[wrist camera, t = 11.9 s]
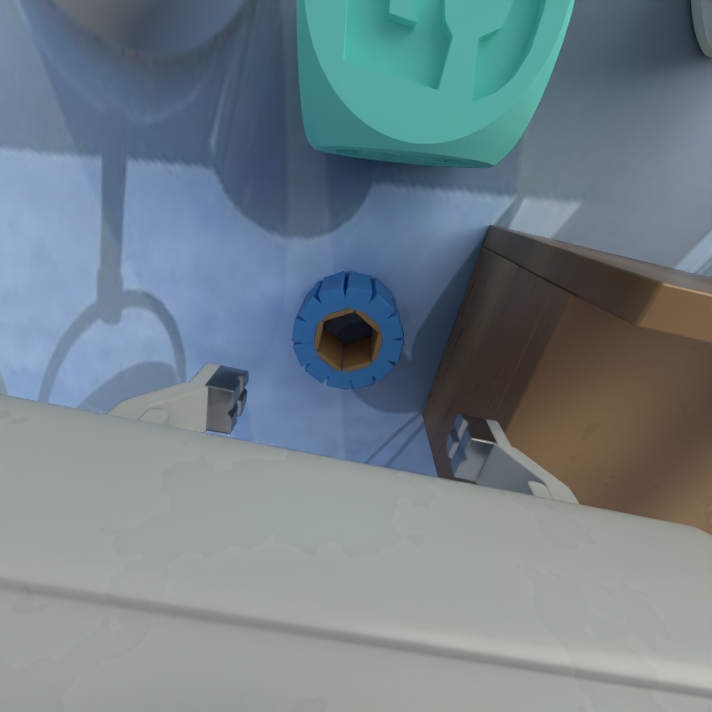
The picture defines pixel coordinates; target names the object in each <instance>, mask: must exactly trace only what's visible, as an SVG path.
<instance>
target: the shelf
mask: <svg viewBox="0 0 712 712" xmlns="http://www.w3.org/2000/svg"><path fill="white" fill-rule="evenodd" d="M483 246H484V247H482V249H481V251H480V254H479V257H478V260H477V262H476V265H475V268H474V271H473V274H472V276H471V279H470V282H469V285H468V288H467V290H466V293H465V296H464V299H463V301H462V304H461V307H460V310H459V313H458V315H457V318H456V321H455V324H454V326H453V329H452V332H451V335H450V338H449V340H448V343H447V346H446V349H445V351H444V354H443V357H442V360H441V363H440V365H439V368H438V371H437V374H436V377H435V379H434V382H433V385H432V388H431V390H430V393H429V396H428V399H427V402H426V404H425V407H424V410H423V413H422V417H423V421H424V424H425V428H426V432H427V436H428V440H429V444H430V448H431V451H432V455H433V459H434V463H435V467H436V471H437V475H438V477H439V478H444V479H449V480H455V481H460V482H465V483H470V484H476V482H475V481H470V480H466V479H461V478H457V477H454V475H453V472H452V469H451V465H450V463H451V461H452V459H450V458H449V457H448V455H447V451H446V443H447V438H448V435H449V433H450V432H451V431H452V430H454V429H455V426H454V421H455V418H456V417H457V415H458V414H459V415H466V416H471V417H477V418H483V419H489V420H495V421H497V422H498V423H499V425H500V427H501V428H502V430H503V432H504V434H505V436H506V438H507V439H508V441H509V443H510V445H511V447H514V448H516V449H518V450H519V451H520V452H522V453H523V454H525V455H526V456H527V457H529V458H530V459H531V460H533V461H534V462H535V463H537V464H538V465H539V466H541V467H542V468H543V469H545V470H546V471H547V472H549V473H550V474H551V475H553V476H554V477H555V478H557V479H558V480H559V481H561V482H562V483H563V484H565V485H566V486H568V487H569V488H570V490H571V491H572V493H573V494H574V496H575V497H576V499H577V500H578V502H579V504H581V505H586V506H591V507H597V508H602V509H607V510H612V511H618V512H623V513H628V514H633V515H638V516H644V517H649V518H654V519H659V520H665V521H670V522H676V523H682V524H686V525H690V526H694V527H697V528H699V529H701V530H703V531H705V532H707V533H708V534H710V535H712V278H710V277H706V276H701V275H697V274H693V273H689V272H685V271H681V270H677V269H672V268H668V267H664V266H660V265H656V264H652V263H647V262H643V261H639V260H635V259H631V258H627V257H623V256H618V255H614V254H610V253H606V252H602V251H598V250H593V249H589V248H585V247H581V246H577V245H573V244H569V243H564V242H560V241H556V240H552V239H548V238H544V237H539V236H535V235H531V234H527V233H523V232H519V231H515V230H510V229H506V228H502V227H498V226H494V225H490V226H489V229H488V232H487V235H486V238H485V240H484V243H483ZM476 485H477V484H476Z"/></svg>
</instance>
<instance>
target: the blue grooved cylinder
mask: <svg viewBox="0 0 712 712" xmlns="http://www.w3.org/2000/svg"><path fill="white" fill-rule="evenodd" d="M354 310H355V313H357V314H358V315H359V316H360V317H361V318H362V319H363V320H365V321H366V322H367V323H368V324H369V325H370V326H371V327H372V330H371V334H370V337H367V338H363V339H360V340H356V341H353V342H349V343H346V344H345V345H344V343H343V342H342V341H340V340H339V339H338V338H337V337H336V336H334V335H333V334H332V333H331V332H330V331H328V330H327V329H326V328H325V327H324V325H325V321H326V320H330V319H333V318H336V317H340V316H343V315H346V314H350V313H353V312H354ZM403 337H404V334H403V330H402V326H401V323H400V319H399V315H398V312H397V308H396V305H395V301H394V298H393V297H391V293H390V291H389V290H388V289H387V288H386V287H384V286H383V285H382V284H381V283H380V282H379V281H378V280H377V279H376V278H375V279H374V280H373V281H372V282H371V276H370V275H366V274H361V273H357V272H352V271H350V272H349V276H348V279H347V276H346V273H345V271H343V272H340V273H337V274H334V275H331V276H328V277H325V278H324V280H323V282H322V281H319V282H318V283H317V284H316V285H315V287H314V288H313V289H312V290H311V291H310V292H309V293H308V295H307V296H306V298H305V300H304V302H303V305H302V307H301V309H300V311H299V313H298V315H297V317H296V319H295V324H294V331H293V337H292V341H294V345H293V348H294V350H295V353H296V355H297V357H298V360H299V362H300V364H301V366H303V365H306V367H305V371H306V372H308V373H309V374H310V375H312V376H313V377H314V378H316V379H317V380H318V381H319V382H321V383H323V382H324V381H325V380H326V379H327V378H328V379H327V386H332V387H337V388H342V389H349V386H350V382H351V384H352V387H353V389H357V388H361V387H365V386H369V385H372V384H374V383H375V380H374V378H375V379H377V380H378V381H380V380H382V379H383V378H384V377H385V376H386V375H387V374H388V373H389V372H390V371H391V370H392V369H393V368H395V364H394V362H398V361H399V358H400V354H401V351H402V348H403V345H404V340H403Z"/></svg>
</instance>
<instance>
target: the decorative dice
mask: <svg viewBox="0 0 712 712" xmlns="http://www.w3.org/2000/svg"><path fill="white" fill-rule="evenodd" d="M574 2H575V0H297V53H298V74H299V89H300V101H301V110H302V118H303V125H304V130H305V134H306V137H307V140H308V141H309V143H310V144H311V145H312V147H313V148H314V149H316V150H318V151H322V152H326V153H331V154H336V155H342V156H348V157H355V158H362V159H370V160H378V161H386V162H395V163H405V164H416V165H428V166H441V167H459V168H489V167H493V166H495V165H496V164H497V163H498V162H499V161H501V160H502V159H503V158H504V157H505V156H506V155H507V154H508V153H509V152H510V151H511V150H512V149H513V148H514V146H515V145H516V143H517V142H518V141H519V139H520V137H521V136H522V134H523V133H524V131H525V129H526V128H527V126H528V124H529V122H530V120H531V118H532V116H533V115H534V113H535V111H536V108H537V106H538V104H539V102H540V100H541V98H542V95H543V93H544V91H545V89H546V86H547V84H548V81H549V79H550V76H551V74H552V71H553V69H554V66H555V63H556V60H557V58H558V55H559V52H560V49H561V46H562V43H563V40H564V37H565V34H566V31H567V27H568V24H569V21H570V17H571V14H572V10H573V6H574Z"/></svg>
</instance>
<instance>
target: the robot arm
mask: <svg viewBox="0 0 712 712" xmlns="http://www.w3.org/2000/svg"><path fill="white" fill-rule="evenodd" d="M248 380H249V372H248V371H245V370H241V369H236V368H232V367H227V366H223V365H219V364H213V363H206V364H205V365H204V366H203V367H202V369H201V370H200V371H199V372H198V373H197V374H196V375H195V376H194V377H193V379H192V380H191V381H190V382H189V383H187V382H183V383H180V384H176V385H173V386H170V387H166V388H163V389H159V390H156V391H153V392H149V393H146V394H143V395H139V396H136V397H133V398H129V399H126V400H122V401H121V402H119V403H118V404H117V405H116V406H115V407H114V408H113V409H111V410H110V411H109V412H108V413H107V414H102V413H97V412H92V411H86V410H81V409H76V408H71V407H65V406H60V405H55V404H50V403H44V402H39V401H34V400H29V399H23V398H18V397H13V396H8V395H3V394H0V712H712V535H710V534H708V533H707V532H705V531H703V530H701V529H699V528H697V527H694V526H690V525H686V524H682V523H676V522H670V521H665V520H659V519H654V518H649V517H644V516H638V515H633V514H628V513H623V512H618V511H612V510H607V509H602V508H597V507H591V506H586V505H581V504H579V502H578V500H577V499H576V497H575V496H574V494H573V493H572V491H571V490H570V488H569V487H568V486H566V485H565V484H563V483H562V482H561V481H559V480H558V479H557V478H555V477H554V476H553V475H551V474H550V473H549V472H547V471H546V470H545V469H543V468H542V467H541V466H539V465H538V464H537V463H535V462H534V461H533V460H531V459H530V458H529V457H527V456H526V455H525V454H523V453H522V452H520V451H519V450H518V449H516V448H514V447H511V445H510V443H509V441H508V439H507V438H506V436H505V434H504V432H503V430H502V428H501V427H500V425H499V423H498V422H497V421H495V420H489V419H483V418H477V417H471V416H466V415H459V414H458V415H457V417H456V418H455V421H454V426H455V429H454V430H452V431H451V432H450V433H449V435H448V438H447V443H446V451H447V455H448V457H449V458H450V459H452V461H451V463H450V465H451V469H452V472H453V475H454V477H457V478H461V479H466V480H470V481H475V482H476V484H477V485H476V484H470V483H465V482H460V481H455V480H449V479H444V478H439V477H433V476H428V475H423V474H418V473H412V472H407V471H402V470H397V469H391V468H386V467H381V466H376V465H370V464H365V463H360V462H355V461H349V460H344V459H339V458H334V457H328V456H323V455H318V454H313V453H307V452H302V451H297V450H291V449H286V448H281V447H276V446H270V445H265V444H260V443H255V442H249V441H244V440H239V439H234V438H228V437H223V436H218V435H213V434H207V433H204V432H206V430H208V431H214V432H220V433H226V434H231V432H232V430H233V428H234V427H235V425H236V423H237V417H238V416H241V414H242V412H243V409H244V406H245V403H246V398H247V390H246V389H245V387H246V385H247V383H248Z"/></svg>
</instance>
